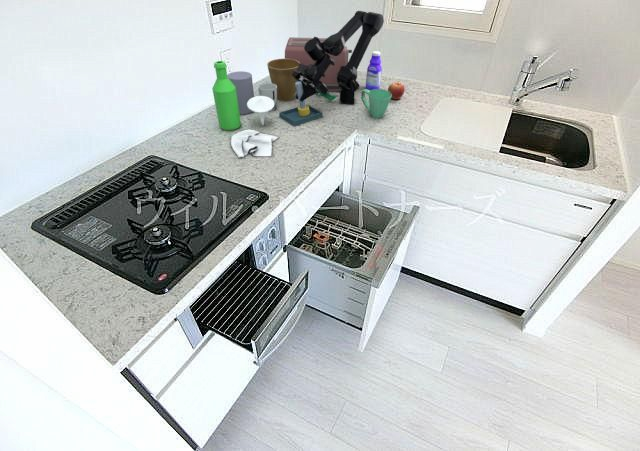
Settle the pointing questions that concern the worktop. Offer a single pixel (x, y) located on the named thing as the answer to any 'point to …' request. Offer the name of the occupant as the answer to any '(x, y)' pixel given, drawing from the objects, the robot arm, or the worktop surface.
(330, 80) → the toaster
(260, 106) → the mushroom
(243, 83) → the container
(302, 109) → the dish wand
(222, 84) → the bottle
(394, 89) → the apple
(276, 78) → the plant pot
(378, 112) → the mug
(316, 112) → the tray
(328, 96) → the green spatula
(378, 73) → the bottle
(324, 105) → the worktop surface
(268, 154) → the cloth
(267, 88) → the cup
